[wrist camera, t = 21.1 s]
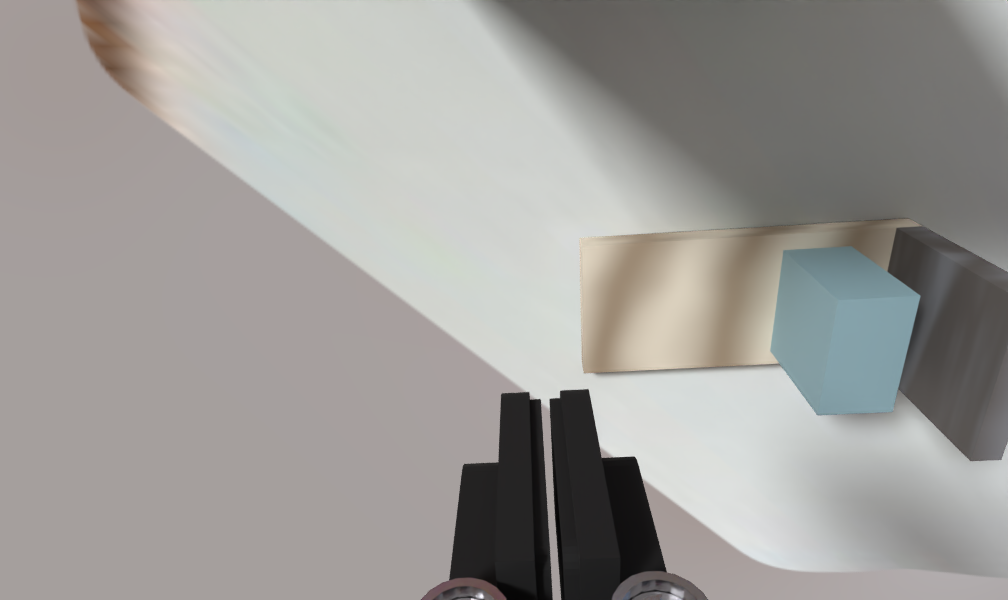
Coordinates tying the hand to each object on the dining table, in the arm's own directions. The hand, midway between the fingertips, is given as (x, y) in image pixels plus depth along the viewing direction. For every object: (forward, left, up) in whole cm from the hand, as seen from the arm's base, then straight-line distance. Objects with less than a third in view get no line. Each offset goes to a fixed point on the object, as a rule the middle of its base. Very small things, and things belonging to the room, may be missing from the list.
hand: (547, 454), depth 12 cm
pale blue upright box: (-17, +10, -26) cm, 32 cm away
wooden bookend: (-13, +10, -27) cm, 32 cm away
